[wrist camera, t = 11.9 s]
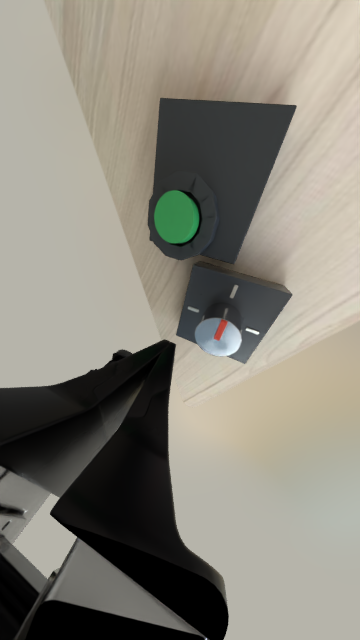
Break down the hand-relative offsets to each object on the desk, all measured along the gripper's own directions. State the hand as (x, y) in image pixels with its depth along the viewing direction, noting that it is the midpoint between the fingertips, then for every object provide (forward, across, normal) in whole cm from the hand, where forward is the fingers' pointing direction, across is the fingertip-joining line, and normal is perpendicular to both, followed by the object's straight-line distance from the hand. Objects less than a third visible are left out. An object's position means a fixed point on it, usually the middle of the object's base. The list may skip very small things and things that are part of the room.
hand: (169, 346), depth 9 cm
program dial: (+9, -3, +1) cm, 10 cm away
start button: (+8, +4, -7) cm, 12 cm away
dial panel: (+12, -3, +2) cm, 12 cm away
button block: (+12, +3, -10) cm, 16 cm away
